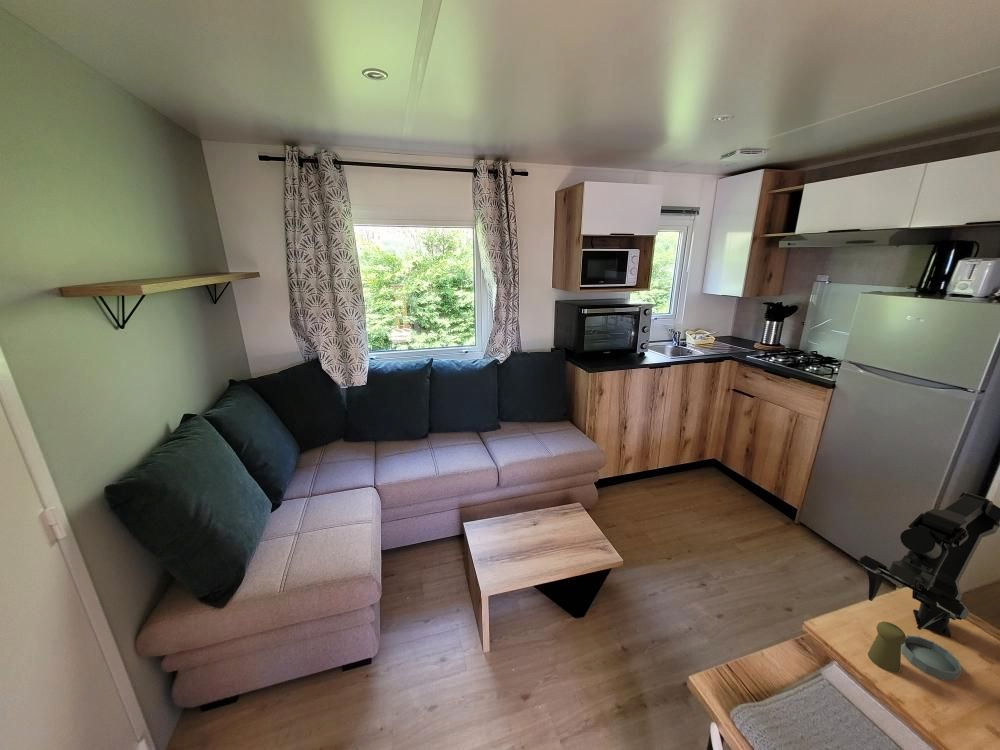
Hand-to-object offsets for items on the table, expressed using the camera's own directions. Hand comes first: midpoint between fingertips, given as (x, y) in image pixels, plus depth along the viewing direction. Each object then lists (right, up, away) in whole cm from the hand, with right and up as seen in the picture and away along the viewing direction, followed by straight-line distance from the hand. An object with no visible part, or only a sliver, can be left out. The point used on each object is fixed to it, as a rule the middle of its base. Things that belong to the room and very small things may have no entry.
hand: (893, 614), depth 94 cm
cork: (+1, -15, +4) cm, 15 cm away
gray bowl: (+13, -14, +3) cm, 19 cm away
